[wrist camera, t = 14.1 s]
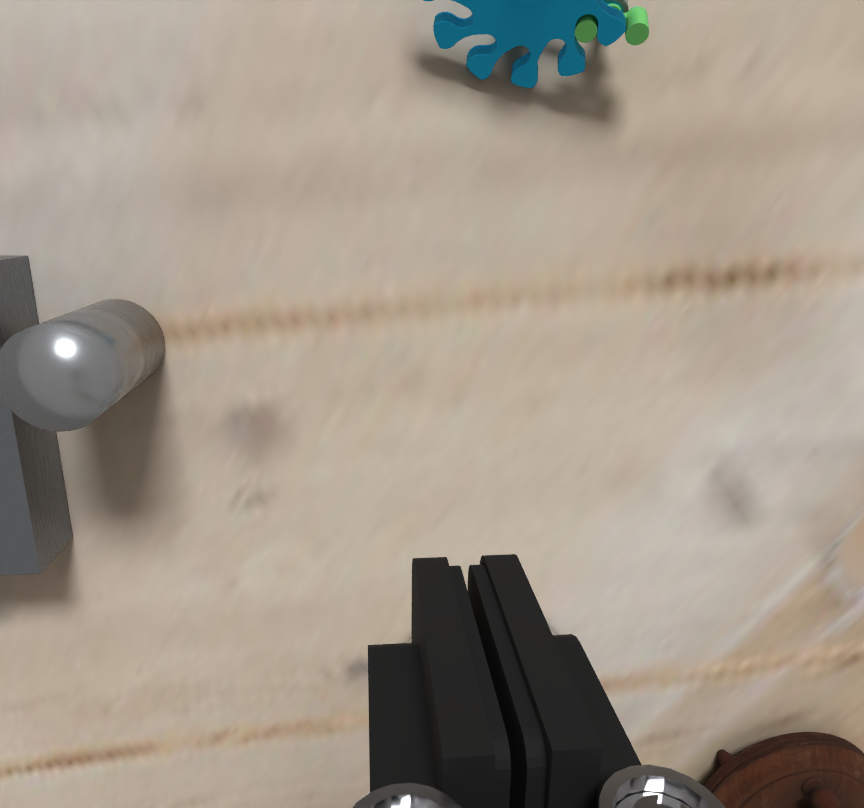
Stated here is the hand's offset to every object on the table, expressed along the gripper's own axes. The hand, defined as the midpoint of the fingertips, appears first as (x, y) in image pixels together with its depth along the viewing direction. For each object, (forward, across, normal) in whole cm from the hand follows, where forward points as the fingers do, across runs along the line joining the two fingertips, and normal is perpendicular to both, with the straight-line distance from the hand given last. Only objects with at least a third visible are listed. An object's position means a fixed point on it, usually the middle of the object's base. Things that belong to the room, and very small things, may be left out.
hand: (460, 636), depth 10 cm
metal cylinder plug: (+27, +14, 0) cm, 31 cm away
